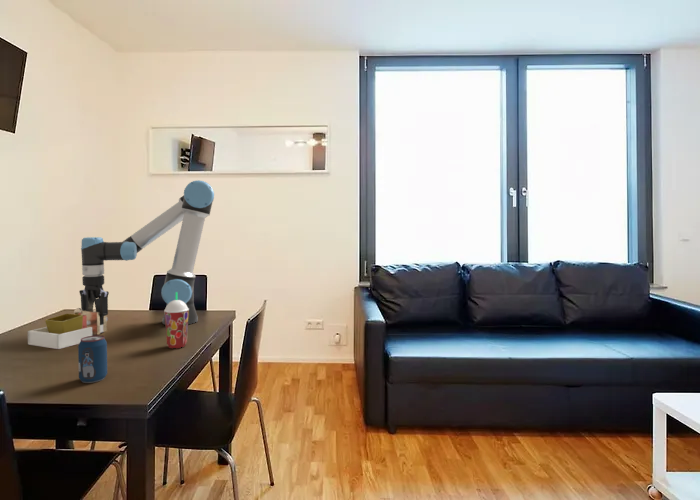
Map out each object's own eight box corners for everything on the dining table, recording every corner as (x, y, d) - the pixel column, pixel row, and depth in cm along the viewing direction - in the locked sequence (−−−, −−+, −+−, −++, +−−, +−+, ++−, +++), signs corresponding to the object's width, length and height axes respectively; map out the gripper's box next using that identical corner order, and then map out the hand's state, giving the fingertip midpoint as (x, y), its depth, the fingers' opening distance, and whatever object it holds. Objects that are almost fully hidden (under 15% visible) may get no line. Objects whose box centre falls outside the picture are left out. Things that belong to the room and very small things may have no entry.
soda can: (104, 373, 123) (103, 333, 122) (110, 379, 118) (109, 338, 117) (76, 378, 118) (75, 337, 117) (81, 385, 113) (80, 342, 112)
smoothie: (194, 344, 154) (193, 291, 153) (177, 350, 146) (177, 294, 145) (176, 342, 157) (175, 290, 156) (159, 348, 149) (158, 293, 148)
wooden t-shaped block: (114, 330, 172) (113, 303, 171) (83, 338, 159) (83, 309, 158) (98, 329, 175) (97, 302, 174) (67, 336, 162) (66, 307, 161)
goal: (92, 340, 159) (92, 327, 158) (58, 349, 146) (58, 335, 146) (62, 336, 164) (62, 323, 164) (27, 344, 152) (27, 330, 151)
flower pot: (63, 345, 152) (61, 321, 151) (46, 342, 154) (44, 319, 153) (85, 337, 160) (83, 315, 159) (68, 335, 163) (66, 313, 162)
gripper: (69, 275, 166) (71, 332, 168) (100, 277, 161) (102, 336, 162) (86, 273, 173) (88, 327, 175) (117, 275, 168) (119, 331, 169)
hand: (95, 331), depth 169 cm, fingers closed on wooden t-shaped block, 4 cm apart
